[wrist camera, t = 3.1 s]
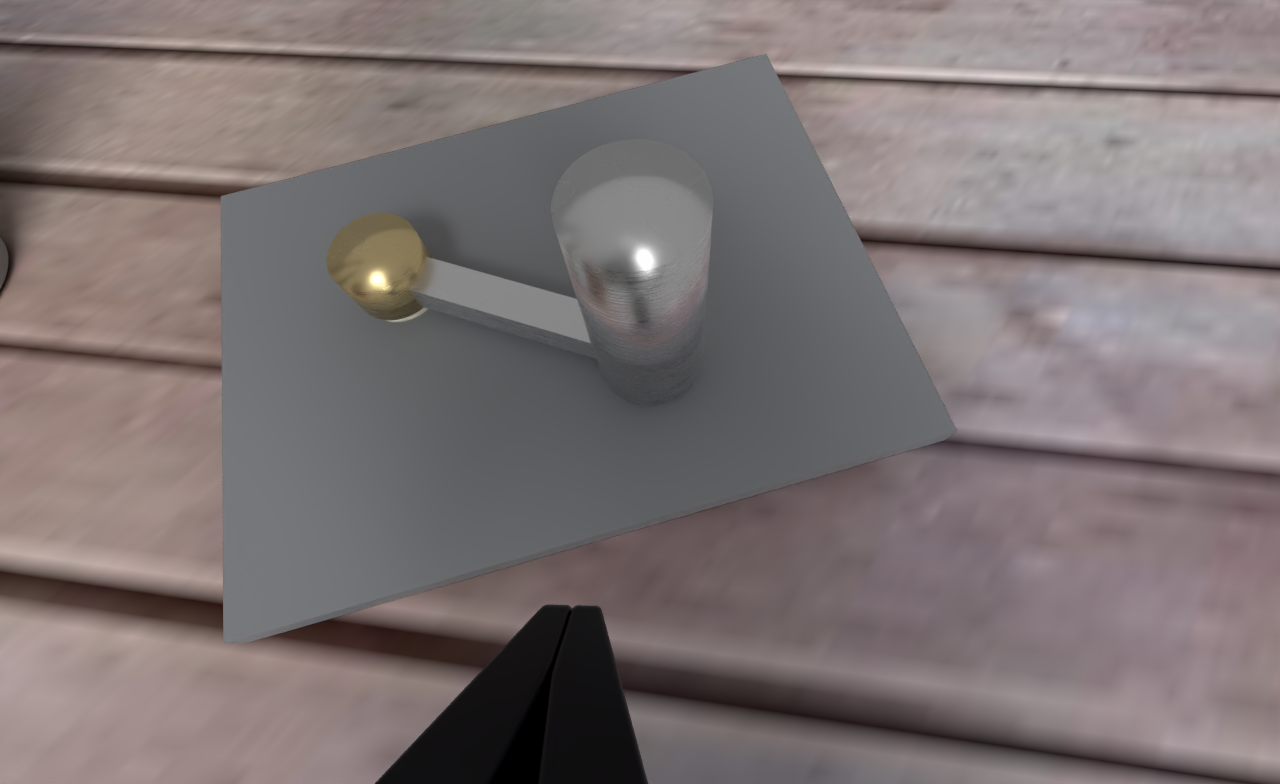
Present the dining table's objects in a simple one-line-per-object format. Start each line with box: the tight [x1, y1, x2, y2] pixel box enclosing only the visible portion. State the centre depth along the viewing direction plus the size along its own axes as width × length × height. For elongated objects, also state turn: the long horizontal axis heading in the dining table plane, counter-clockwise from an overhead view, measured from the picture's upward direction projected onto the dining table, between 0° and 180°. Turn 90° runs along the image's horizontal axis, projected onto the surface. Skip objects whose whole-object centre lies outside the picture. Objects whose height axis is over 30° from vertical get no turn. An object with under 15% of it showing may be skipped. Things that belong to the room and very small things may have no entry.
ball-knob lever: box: [326, 139, 713, 406], centre depth 18 cm, size 13×4×8 cm, turn 70°
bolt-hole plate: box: [221, 54, 957, 644], centre depth 23 cm, size 24×18×1 cm
